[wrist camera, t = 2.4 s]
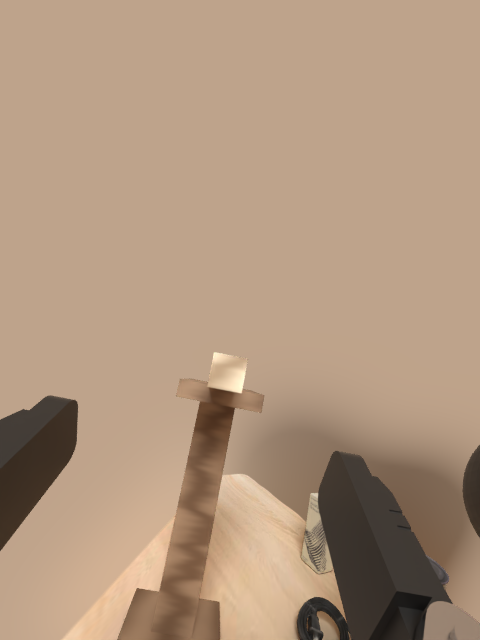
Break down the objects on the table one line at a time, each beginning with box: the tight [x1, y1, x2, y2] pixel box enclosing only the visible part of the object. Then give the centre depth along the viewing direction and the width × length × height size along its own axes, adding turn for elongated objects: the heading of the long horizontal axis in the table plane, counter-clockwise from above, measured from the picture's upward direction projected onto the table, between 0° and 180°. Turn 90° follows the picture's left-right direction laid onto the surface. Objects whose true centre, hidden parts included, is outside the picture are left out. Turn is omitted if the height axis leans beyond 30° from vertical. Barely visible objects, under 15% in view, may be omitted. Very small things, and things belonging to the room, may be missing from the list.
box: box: [301, 493, 333, 574], centre depth 60 cm, size 5×4×13 cm
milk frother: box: [297, 556, 449, 640], centre depth 39 cm, size 14×16×15 cm
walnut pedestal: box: [117, 379, 264, 640], centre depth 37 cm, size 12×15×32 cm
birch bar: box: [207, 352, 248, 393], centre depth 36 cm, size 3×24×3 cm, turn 5°
